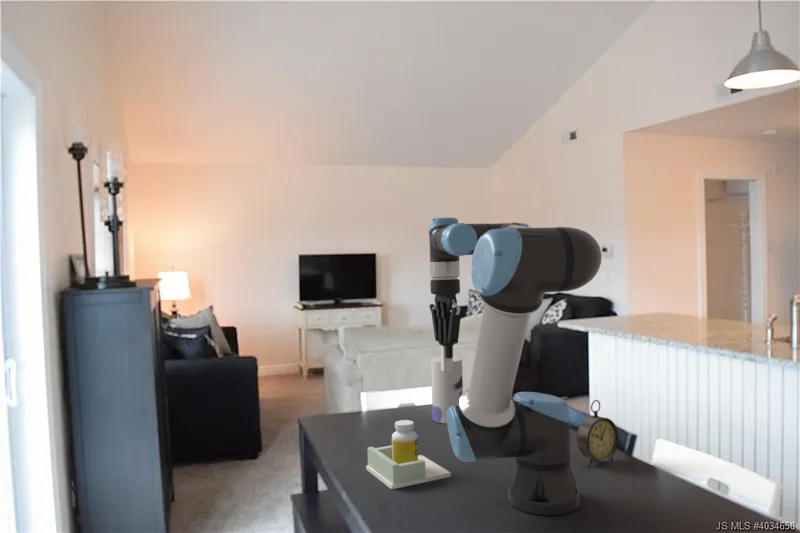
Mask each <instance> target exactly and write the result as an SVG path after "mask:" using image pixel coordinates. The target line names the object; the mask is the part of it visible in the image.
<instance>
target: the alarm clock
mask: <svg viewBox="0 0 800 533" xmlns="http://www.w3.org/2000/svg"><path fill="white" fill-rule="evenodd" d="M595 402H597V403H598V405H599V406H598V409H597V410H594V409H593V405H594V403H595ZM600 410H601V402H600V401H599V400H598V399H595V400H593V401H592V402H591V405H590V411H591V412H592V413H593V415H590V416H588V417H586V418H584V420H583V421H582V422H581V424H580V425H579V427H578V430H577V433H576V444H577V448H578V450H579V451H580V454H581V455H582V456H584V457H585V458H586V459H588V463H587V466H586V468H590V466H591V464H592V463H593V461H594V462H595V461H596V462H598V463H605V462H607V461H609V460H611V461H613V462H614V458H613V456H614V455H615V453H616V451H617V449H618V445H619V432H618V428H617V425H616V424H615V422H614V421H612V419H610V418H608V417H604V416H598V415H599V414H598V413H599V412H600Z"/></svg>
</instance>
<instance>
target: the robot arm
mask: <svg viewBox="0 0 800 533" xmlns="http://www.w3.org/2000/svg"><path fill="white" fill-rule="evenodd" d="M428 223H429V225H428V228H429V229H428V235H429V237H428V238H429V275H430V276H429V277H430V278H432V279H431V280H430V281H429V282H430V294H432V295H435V296H434V302H433V303H430V304H429V310H430V313H431V319H432V326H433V334H434V340H435V342H438V344H439V345H440V346H439V347H440V348H439V349H440V357H441V371H451V370H453V357H454V345H456V344H458V343H459V334H460V328H461V319H462V313H463V310H464V308H463V306H459V305H458V304H457V303H458V299H457V295H458V294H460V292H461V282H460V281H461V280H460V279H459V277H460V275H461V274H460V267H461V266H460V256H461V257H463V256H472V258H471V267H472V268H471V280H472V285H473V287H474V290H475V291H476V292H477V293H478V296H479V298H480V300H481V301H482V302H483V303H484V307H483V313H482V318H481V323H480V328H479V333H478V339H477V343H476V349H475V356H474V360H473V365H472V366H473V367H472V371H471V376H470V377H471V378H470V382H469V388H468V389H466V390H465V391H463V394H462V395H461V397H460V400H459V406H456V405H453V406H451V407H449V408H448V410H447V424H446V425H447V431H448V437H449V442H450V445H451V447H452V451H453V454H454V455H455V457H456V458H457V459H458V461H461V462H465V463H466V462H474V463H478V462H483V461H484V462H485V461H493V460H494V461H495V460H502V459H503V460H504V459H513V458H515V466H514V470H513V473H512V477H511V479H510V480H511V481H510V483H509V486H508V488H507V496H508V498H507V499H508V502H509V504H510V505H511V506H512V507H514V508H516V509H517V510H519V511H522V512H525V513H530V514H534V515H539V516H558V515H565V514H569V513H572V512H575V511H576V510H577V509H578V508H579V506H580V492H579V489H578V487H577V483H576V480H575V477H574V474H573V471H572V468H571V418H570V417H571V416H570V408H569V404H568V403H567V401H565V400H564V399H563V398H561V397H558V396H555V395H553V394H548V393H544V392H543V393H542V392H535V391H534V392H533V391H520V392H516V393H514V396H513V399H511V398H512V394H513V391H514V386H515V382H516V377H517V374H518V369H519V364H520V360H521V355H522V351H523V347H524V343H525V338H526V335H527V330H528V326H529V322H530V318H531V314H533V313H535V312H537V311H538V310H539V309H540V308H541V306H542V304H543V299H544V297H545V294H546V293H560V292H570V291H575V290H577V289H580V288H582V287H584V286H585V285H587V284H589V283H590V282H591V281H592V280H593V279H594V278H595V277H596V275H597V274H598V272H599V271H600V267H601V264H602V259H603V258H602V251H601V247H600V245H599V243H598V241H597V240H596V239H595V238H594V237H593V235H591V234H590V233H588V232H586V231H585V230H582V229H579V228H576V227H569V226H567V227H566V226H558V227H532V226H531V227H530V226H529V224H527V223H526V222H525V223H524V222H523V223H522V222H508V223H507V222H502V223H501V222H500V223H464V222H459V220H458V218H457V217H434V218H431V219H430V220H429V222H428Z"/></svg>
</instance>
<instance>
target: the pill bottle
mask: <svg viewBox="0 0 800 533" xmlns="http://www.w3.org/2000/svg"><path fill="white" fill-rule="evenodd" d="M414 423H415V422H414V421H412V420H410V419H409V420H408V419H402V420H397V421H395V423H394V429H395V431H394V432H393V433H392V434H391V445H392V460H393V461H394V462H396V463H397V464H402V463H407V462H412V461H417V460H418V456H419V448H418V447H419V446H418V445H419V441H418V440H419V438H418V437H419V435H418V434H417V432H415V431H414V430H413V429H414V427H415V424H414Z"/></svg>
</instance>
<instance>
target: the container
mask: <svg viewBox="0 0 800 533" xmlns="http://www.w3.org/2000/svg"><path fill="white" fill-rule="evenodd" d="M430 362H431V364H430V365H431V366H430V367H431V368H430V369H431V370H430V371H431V401H432V402H431V403H432V404H431V405H432V407H431V409H432V410H431V412H432V416H431V417H432V421H433V422H435V423H438V424H446V425H447V410H448V408H449V407H451V406H453V405H456V406H459V400H460V397H461V395H462V394H463V393H464V387H463V384H464V382H463V358H462V357H459V356H453V370H451V371H441V356H435V357H432V358H431V360H430Z"/></svg>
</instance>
